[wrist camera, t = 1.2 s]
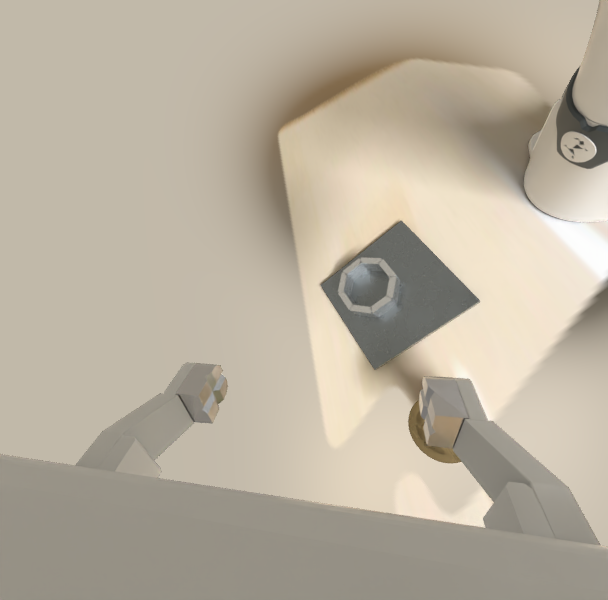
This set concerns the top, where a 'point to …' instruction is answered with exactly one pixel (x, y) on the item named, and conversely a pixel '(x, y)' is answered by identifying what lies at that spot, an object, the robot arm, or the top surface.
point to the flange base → (414, 301)
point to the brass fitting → (419, 438)
